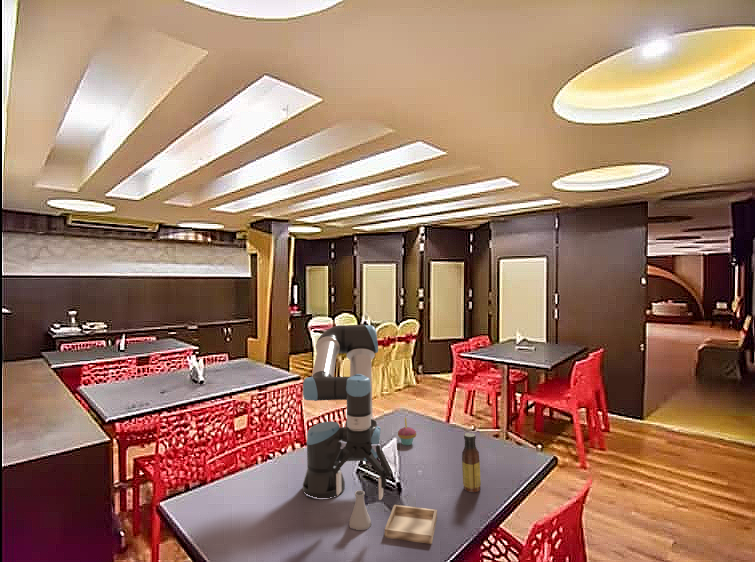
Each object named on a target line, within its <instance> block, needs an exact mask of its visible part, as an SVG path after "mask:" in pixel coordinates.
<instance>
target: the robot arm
mask: <svg viewBox="0 0 755 562" xmlns="http://www.w3.org/2000/svg"><path fill="white" fill-rule="evenodd" d="M315 350H316V356H315V361H314V365H313V369H312V374H311V376H310V377H305V378H304V379H303V383H302V396H303V399H304V400H306V401H313V402H317V401H346V421H345V426H342V427H341V426H340V424H339V423H338V422H336V421H323V422H320V423H316V424H314V425H313V426H311V427H310V428H309V429H308V430H307V433H306V442H305V443H306V449H307V451H306V452H307V453H306V457H307V458H306V459H307V460H306V461H307V470H306V472H305V476H304V479H303V482H302V492H303V491H304V492H305V493H306V494H308V495H310V496H313V497H317V498H330V497H334V496H336V497H338V496H340V495H341V494H343V493H344V491H345V489H346V488H345V487H346V486H345V485H346V481H345V478H344V475H343V473H342V470H341V468H342V467H343V465H344V464H346V462H361V461H362V462H368V463H370V465H371V466H372V467H373V469H374V470H375V471H376V472H377V474H378V476H379V477H378V500H379V501H382V499H383V498H384V489H385V488H386V486H387V477H388V478H390V477H391V475H392V473H393V469H392V468H391V465H390V464H389V462H388V460H387V457H386V456H385V454H384V452H383V447H382V446H383V445H382V443H381V442H380V440H381V428H382V427H381V426H379V425H378V421H377V420H376V419H375V418H374V417H373V384H372V383H373V381H372V380H373V379H372V378H373V376H372V375H373V374H372V373H373V372H372V371H373V370H372V360H373V359H374V358H375V356H376V354H377V353H378V352H379V344H378V335H377V330H376V328H375V326H374V325H369V324H362V325H361V324H359V325H352V324H349V325H348V324H347V325H346V324H344V325H343V324H342V325H335V326H332V327H330V328H328V329H326V330H325V331H324V332H322V334H321V335H320V336H319V337H318V338H317V341H316V345H315ZM338 354H346V358H347V359H348V360H349V362H350V363H349V364H350V365H349V376H335V371H336V370H335V369H336V361H337V356H338ZM377 459H378V460H379V461H378V460H377ZM339 494H340V495H339ZM337 495H338V496H337ZM334 498H335V497H334ZM330 499H331V498H330Z"/></svg>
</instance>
